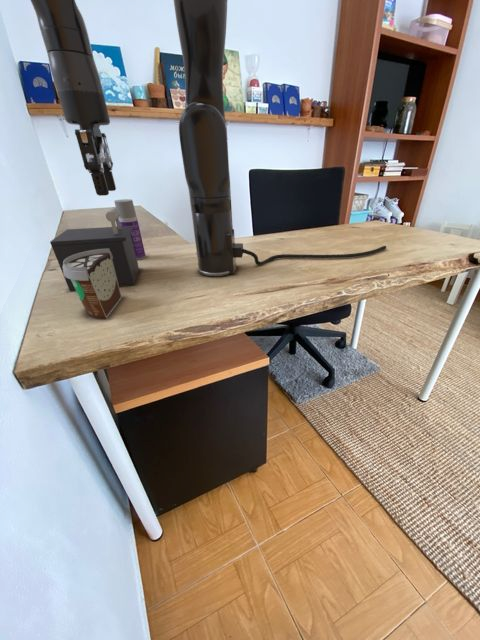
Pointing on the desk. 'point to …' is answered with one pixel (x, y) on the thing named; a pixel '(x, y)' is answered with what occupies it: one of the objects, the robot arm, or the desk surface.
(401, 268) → the desk surface
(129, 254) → the dark grey open box
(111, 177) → the robot arm
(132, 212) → the container
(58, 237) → the lid
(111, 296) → the food container
